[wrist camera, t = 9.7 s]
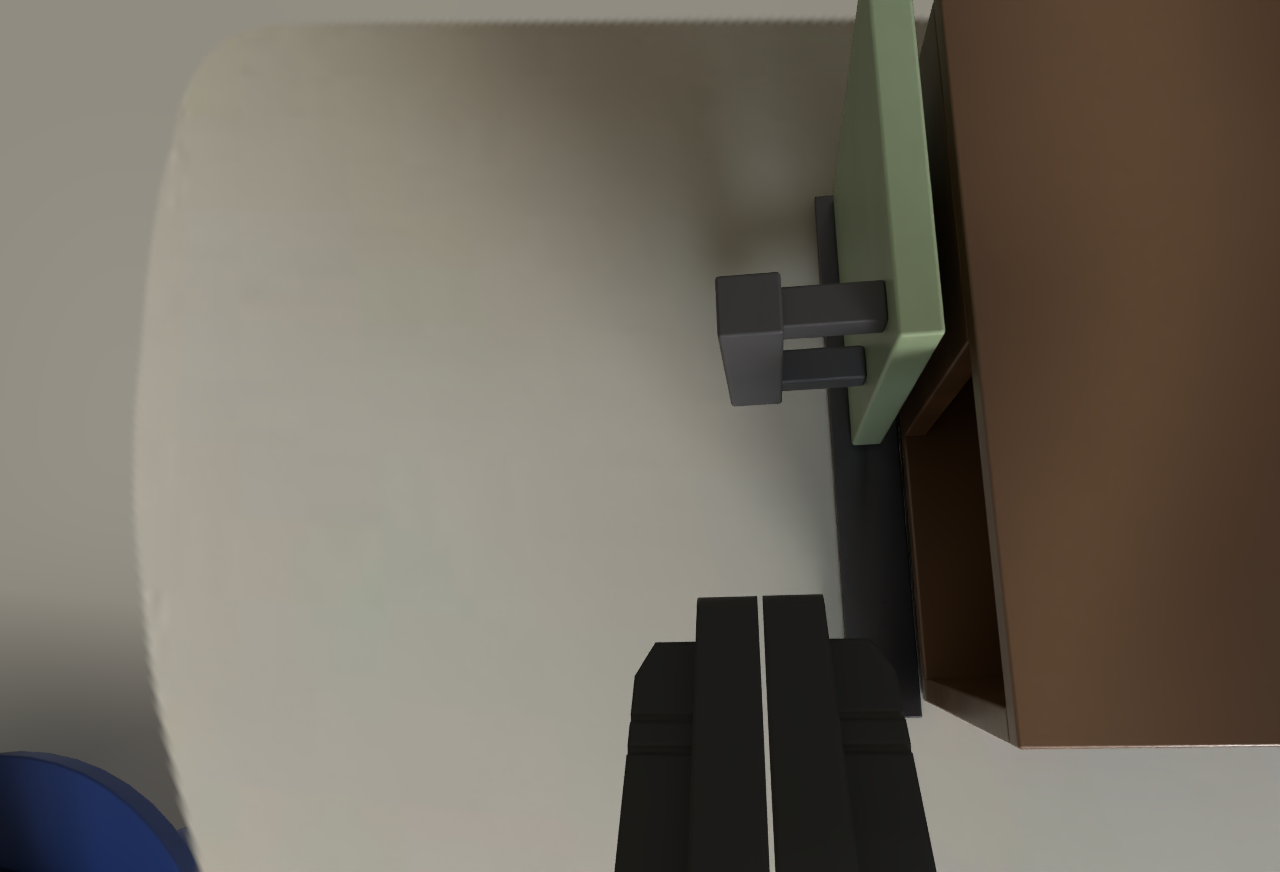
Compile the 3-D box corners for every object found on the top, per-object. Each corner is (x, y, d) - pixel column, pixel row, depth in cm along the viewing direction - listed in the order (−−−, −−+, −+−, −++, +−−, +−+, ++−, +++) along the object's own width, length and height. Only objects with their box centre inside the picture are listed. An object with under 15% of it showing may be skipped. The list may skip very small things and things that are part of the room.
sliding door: (738, 452, 26) (716, 349, 16) (725, 199, 28) (698, -32, 18) (881, 444, 26) (946, 334, 16) (860, 187, 27) (907, -58, 17)
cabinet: (850, 717, 25) (899, 777, 15) (814, 201, 28) (834, -26, 18) (1382, 709, 23) (1820, 770, 13) (1282, 159, 26) (1580, -115, 16)
